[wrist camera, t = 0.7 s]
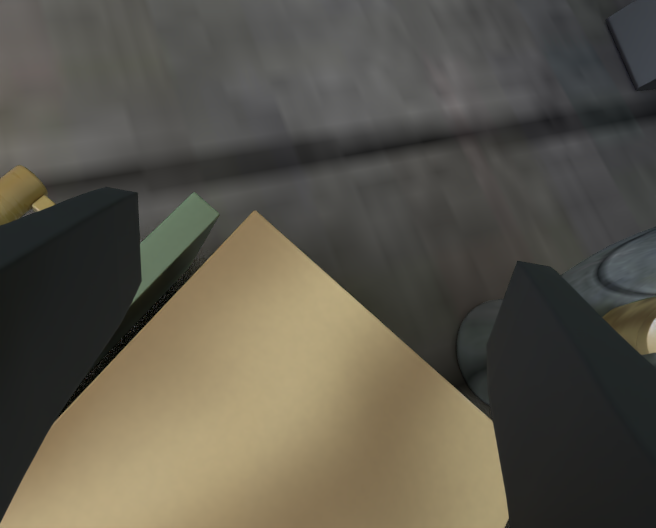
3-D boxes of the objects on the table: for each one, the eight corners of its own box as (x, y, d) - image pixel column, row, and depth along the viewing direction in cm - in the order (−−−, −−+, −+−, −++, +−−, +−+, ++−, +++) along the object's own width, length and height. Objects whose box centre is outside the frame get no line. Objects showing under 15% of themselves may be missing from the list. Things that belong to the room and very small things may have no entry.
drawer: (-196, 393, 20) (-310, 368, 14) (76, 170, 26) (74, 84, 20) (199, 699, 22) (244, 789, 16) (373, 427, 28) (454, 420, 22)
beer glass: (572, 359, 35) (879, 301, 21) (510, 448, 31) (827, 444, 18) (495, 269, 34) (756, 153, 21) (424, 349, 31) (681, 271, 18)
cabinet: (-35, 537, 22) (-97, 582, 14) (207, 275, 28) (255, 208, 20) (246, 754, 23) (328, 901, 15) (418, 458, 29) (537, 459, 22)
